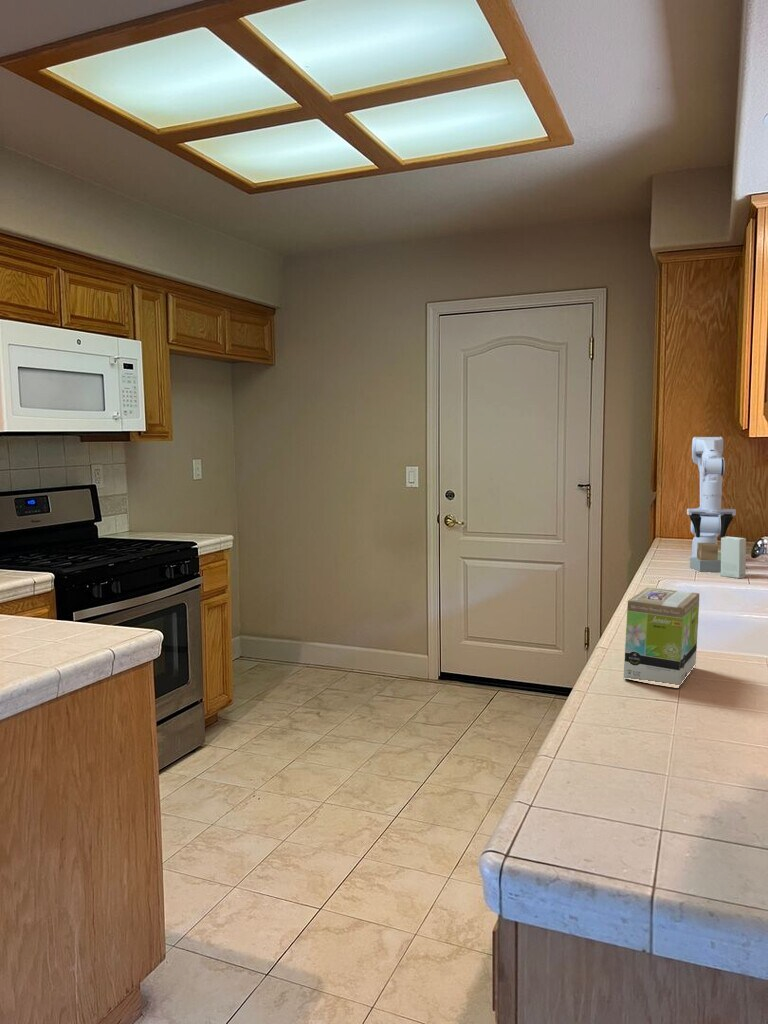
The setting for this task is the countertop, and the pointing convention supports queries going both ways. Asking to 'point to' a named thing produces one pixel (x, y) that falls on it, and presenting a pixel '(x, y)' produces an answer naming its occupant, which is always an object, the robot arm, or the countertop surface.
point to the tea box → (661, 635)
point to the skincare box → (733, 557)
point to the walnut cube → (707, 551)
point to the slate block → (705, 565)
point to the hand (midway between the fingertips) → (710, 537)
